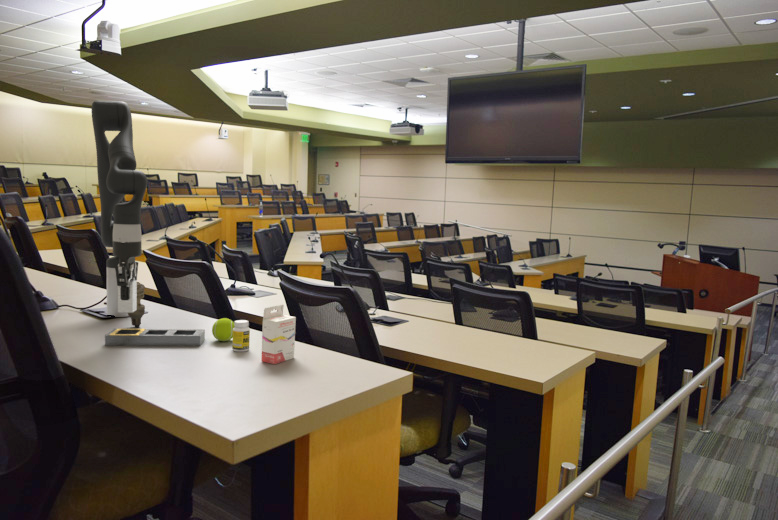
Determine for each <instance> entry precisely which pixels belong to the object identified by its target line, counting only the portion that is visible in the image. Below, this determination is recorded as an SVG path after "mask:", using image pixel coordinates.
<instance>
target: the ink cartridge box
mask: <svg viewBox="0 0 778 520" xmlns="http://www.w3.org/2000/svg"><path fill="white" fill-rule="evenodd" d="M284 307H285V306H284V304H280V305H279V304H278V305H273V306H268V307H264V310H263V317H262V329H261V330H262V332H261V334H262V335H261V337H262V338H261V362H264V363H268V364H272V365H277V364H280V363H283V362H286V361H289V360H291V359H294V358H295V347H296V346H295V343H296V342H295V340H296V324H297V323H296V321H297V317H296V316H291V315H286V314H283V313H284ZM274 310H275V311H274ZM272 311H274V312H272Z"/></svg>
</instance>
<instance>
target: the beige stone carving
mask: <svg viewBox="0 0 778 520" xmlns="http://www.w3.org/2000/svg"><path fill="white" fill-rule="evenodd" d="M145 289H146V287H145V285H144V284H143V283H141V282H138V281H137V310H136V311H134V312H133V313H128V312H127V313H128V315H129V316H128V317H129V318H130V319H131V326H133V327H135V328H140V326H141V324H142V322H141V321H142V318H143V316H144V315H145V313H146V312H145V311H146V310H145V309H146V306H145V305H144V304H142V303H141V300H143V299H144V298H145Z"/></svg>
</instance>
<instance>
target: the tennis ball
mask: <svg viewBox="0 0 778 520" xmlns="http://www.w3.org/2000/svg"><path fill="white" fill-rule="evenodd" d="M234 322H235V321H233V320H232V319H229V318H227V317H223V318H219V319H218V320H216V321H215V322H214V323H213V325H212V328H211V332H212V335H213V337H214V338H215V339H216V340H217V341H220V342H228V341H230V340H231V339H232V340H233V328H234V327H235V326H234Z"/></svg>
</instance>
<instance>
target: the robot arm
mask: <svg viewBox="0 0 778 520" xmlns="http://www.w3.org/2000/svg"><path fill="white" fill-rule="evenodd" d="M131 111H132V110H131V108H130V106H129V103H127V102H126V101H119V100H94V101H93V102H92V104H91V119H92V127H93V135H94V140H95V148H96V165H97V166H96V169H97V170H96V171H97V182H98V183H97V184H98V193H99V198H100V199H99V201H100V220H101V221H100V232H101V234H100V235H101V236H100V237H101V243H102V245H103V246H104V247H106V248H112V256H111V257H109V258H107V259H106V260H105V262H106V263H105V265H106V315H107V314H109V315H114V316H115V317H114V318H123V317H130V316H129V315H128V313H127V312H118V286H119V287H120V294H121V300H129V286H130V280H138V268H139V261H136V258H138V257H141V256H142V226H141V222H142V221H141V217H142V216H141V213H142V212H141V209H142V204H143V200H144V196H145V193H146V190H147V187H148V177H147V175H146V174H145V172H143V171H142V170H138V169H137V161H136V159H137V158H136V155H135V151H134V141H133V139H134V135H133V134H134V133H133V131H134V130H133V118H132V113H131ZM106 132H118V134H116V135H115V136H114V138H113V139H112V140H111V141H109V140H108V138H107V136H106ZM136 169H137V170H136ZM126 195H129V196H130V195H131V196H132V198H131V199H130V200H129V201H126V202H122V200H123V199H124V198H125V196H126ZM112 217H113V220H112ZM123 279H124V282H122V281H123Z"/></svg>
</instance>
